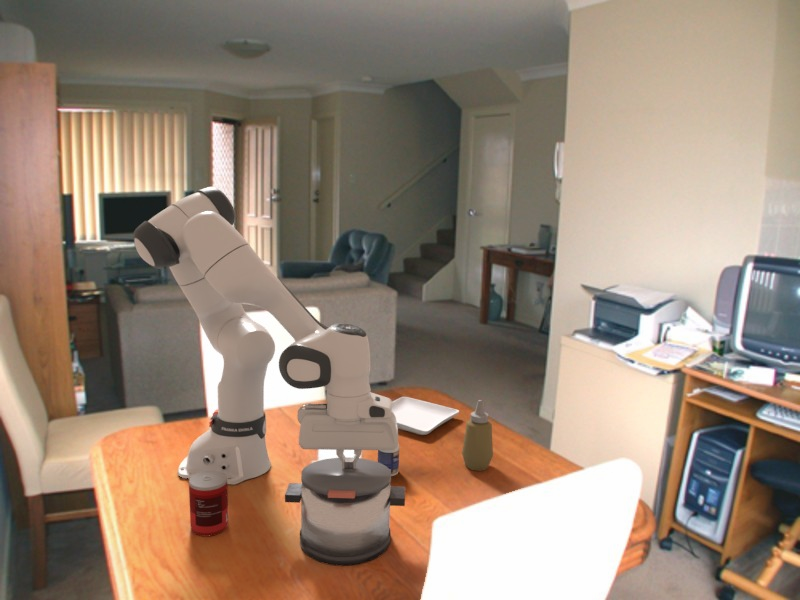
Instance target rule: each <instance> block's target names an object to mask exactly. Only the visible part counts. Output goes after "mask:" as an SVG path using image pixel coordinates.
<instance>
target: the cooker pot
mask: <svg viewBox="0 0 800 600" xmlns="http://www.w3.org/2000/svg"><path fill="white" fill-rule="evenodd" d="M284 503H295V504H297V503H298V504H301V505H300V507H301V511H300V512H301V515H300V516H301V518H300V519H301V520H300V521H301V527H300V531H299V545H300V548H301V550H302V552H304V554H305V555H307V557H308V558H311V559H312V560H315V561H316V562H319V563H323V564H325V565H330V566H337V567H338V566H339V567H340V566H342V567H344V566H345V567H346V566H347V567H349V566H356V565H362V564H365V563H368V562H369V563H370V562H372V561H374V560H376V559H378V558H379V557H380V556H382V555H383V554H385V552H387V550H388V549H389V546H390V545H391V529H390V528H391V527H390V519H391V518H390V517H391V516H390V514H391V513H390V512H391V508H390V507H391V506H393V507H394V506H395V507H397V506H398V507H405V506H406V504H405V503H406V487H405V486H392V485H391V483H390V484H389V485H388V486H387V487H386V488H385V489H383V490H381V491H378V492H376V493H372V494H368V495H362V496H355V498H328V495H324V494H320V493H316V492H313V491H311V490H309V489H307V488H306V487H305V486H304V485H303V484H302V482H301V483H300V482H299V483H297V482H296V483H295V482H289V483H288V486H287V488H286V491H285V492H284Z"/></svg>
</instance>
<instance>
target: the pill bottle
mask: <svg viewBox="0 0 800 600" xmlns="http://www.w3.org/2000/svg"><path fill="white" fill-rule="evenodd" d="M377 462H379V463H381V464H383V465H385V466H386V467H388V468H389V470H390V471H391V477H393V476H397V475H398V473H399V470H400V469H399V468H400V467H399V466H400V445H399V444H398V447H397V448H396V449H395V450H377Z"/></svg>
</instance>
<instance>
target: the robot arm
mask: <svg viewBox="0 0 800 600" xmlns="http://www.w3.org/2000/svg"><path fill="white" fill-rule="evenodd" d="M235 220H236V211H235V208H234V207H233V205H232V202H231V201H230V200H229V198H228V197H227V196H226V194H225V193H224V192H223V191H222V190H220V189H219V188H216V187H213V186H207V187H204V188H201V189H198V190H196V192H195V193H192V194H189V195H187V196H184V197H183V198H180V199H178V200H176V201H175V202H173V203H171V204H170V205H169V206H168V207H166V208H165V209H164V208H163V210H161V211H160V212H158V213H157V214H155V215H153V216H152V217H151V218H149V220H144V221H143V222H142V223H141V224H139V225H138V226H137V227H136V228H135V230H134V231H133V236H132V237H133V238H132V240H133V243H134V246H135V249H136V251H137V253H138V255H139V256H140V257H141V259H142V260H143V261H144V262H146V263H147V264H149V266H150V267H152V268H153V269H154V268H155V269H159V270H164V269H168V268H169V270H170V272H171V274H172V276H173V278H174V280H175V282H176V283H177V285H178V286H179V288H180V290H181V291H182V293H183V294H184V296H185V298H186V299H187V302H189V303H188V304H190V305H191V307H192V309H193V311H194V312H195V314H196V317H197V319H198V321H199V323H200V326H201V328H202V329H203V331H204V334H205V335H206V337H207V339H208V341H209V342H210V344H211V347H212V348H213V350H215V351H216V353H219V354H220V355H221V356H222V359H223V367H222V368H223V370H222V373H221V374H222V375H221V378H220V381H219V382H218V384H217V409H215V410H214V412H212V416H211V417H210V420H209V424H208V425H209V426H208V427H209V428H210V429H208V430H206V432H203V434H201V435H200V436H198V437H197V438H195V440H194V441H193V442H192V444H191V446H190V448H189V450H188V454H187V456H186V457H184V459H182V461H181V462H180V464H179V466H178V468H177V475H178V477H179V476H180V477H182V478H181V479H187V478H188V480H189V479H190V478H191V477H192V476H193V475H195V474H197V473H199V472H203V471H219V472H222V473H224V474H225V475H226V476H227V485H237V484H241V483H242V482H244V481H246V480H250V479H254V478H257V477H260V476H262V475H263V474H265V473H267V472H268V471H269V470H270V469H271V468H272V467H271V466H272V462H271V460H270V457H269V453H268V449H267V442H266V434H267V419H266V412H265V411H264V410H265V404H264V401H265V399H264V396H265V395H264V393H265V392H264V389H265V388H264V387H265V378H266V374H267V369H268V365H269V364H270V363H271V361H272V360H273V358H274V355H275V352H276V344H275V340H274V339H273V338H274V337H272V335H271V334H270V332H269V331H268V330H267V329H266V327H264V326H263V325H261V324H259V323H257V322H256V321H255V320H253V319H252V318H250V317H249V316H248V315H249V314H247V312H246V311H245V309H244V307H243V305H250V306H254V307H258V308H260V309H263V310H265V311H267V312H268V313H269V314H270V315H272V316H273V317H274V318H275V319H276V320H277V322H278V323H279V324H280V325H281V326H282V328H284V329H285V330H286V331H287V333H288V334H289V336H291V337H292V339H294V340H293V341H294V342H293V343H291V344H290V345H289V346H287V347H286V348H285V349H284V350H283V351H282V352H281V354H280V356H279V359H278V360H279V361H278V370H279V373H280V375H281V377H282V379H283V380H284V381H285V382H286V383H287V384H288V385H289V386H291V387H292V388H294V389H298V390H305V389H306V390H307V389H316V388H322V387H323V388H324V387H325V389H326V403H314V404H313V403H305V404H304V405H302V406H300V407H299V408H298V410H297V422H299V423H298V424H300V426H299V427H300V428H299V433H298V446H299V447H301V449H302V450H326V451H327V450H328V451H329V450H335V451H336V456H337V458H339V459H340V461H341V462H342V469H356V462H357V460H358V459H359V458H360V457H361V455H362V451H378V450H395V449H396V448H397V447H398V445H399V429H398V428H397V421H396V417H395V415H394V413H393V412H392V402H393V400H392V399H391V398H389V397H388V396H387V397H386V396H384V395H381V394H377V393H375V392H371V391H372V390H371V384H370V382H369V381H370V380H369V377H370V372H371V348H370V342H369V337H368V335H367V333H366V331H365V330H364V329H362V328H361V327H359V326H357V325H353V324H351V323H340V322H339V323H334V324H331V325H330V326H329V327H328V326H327V325H325V324H323V323H321V322H320V321H319V320H318V319H317V318H316V317H315V316H314V315H313V314H312V313H311V312H310V311H309V309H308V308H306V306H305V305H304V304H303V303H302V302H301V300H299V299H298V297H296V295H295V294H294V293H293V292H292V291H291V290H290V288H288V287H287V286H286V285H285V284H284V283H283V281H281V280H280V279H279V277H277V276H276V275H275V273H274V272H272V270H271V269H270V268H269V267H268V266H267V265H266V264H265V262H264V261H263V260H262V259H261V257H260V256H259V255H258V254H257V252H256V251H255V250H254V249H253V247H252V246H251V245H250V243H248V242H247V241H248V240H246V239H245V237H244V236H243V235H242V234H241V233H240V232H239V231H238V230H237V229H236V228H235V226H233V225H235ZM242 304H243V305H242ZM349 450H350V451H353V454H354V456H353V457H346V456H345V454H344V452H345V451H349ZM180 477H179V478H180Z"/></svg>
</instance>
